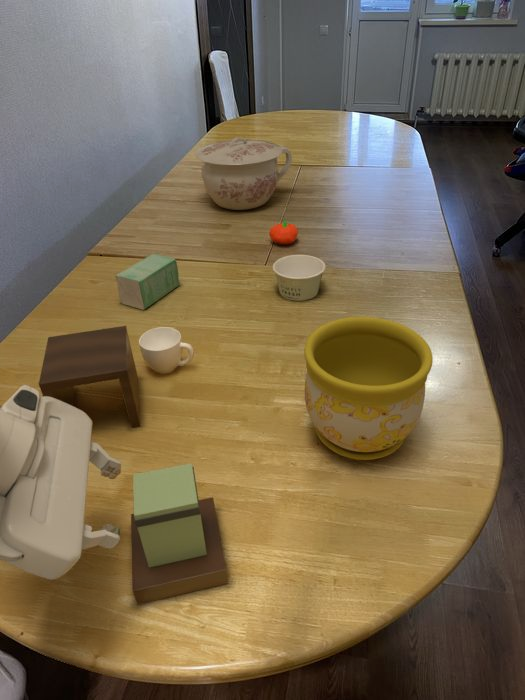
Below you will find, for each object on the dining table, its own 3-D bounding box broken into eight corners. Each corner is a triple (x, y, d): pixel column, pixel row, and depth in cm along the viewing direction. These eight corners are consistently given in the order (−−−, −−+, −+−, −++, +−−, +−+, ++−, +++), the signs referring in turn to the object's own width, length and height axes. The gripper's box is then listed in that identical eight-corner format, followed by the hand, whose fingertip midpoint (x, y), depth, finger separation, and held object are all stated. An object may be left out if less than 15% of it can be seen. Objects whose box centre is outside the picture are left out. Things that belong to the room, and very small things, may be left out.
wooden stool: (140, 426, 86) (126, 369, 79) (59, 441, 84) (38, 384, 77) (138, 379, 97) (126, 325, 90) (66, 391, 94) (48, 337, 87)
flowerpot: (438, 430, 83) (457, 347, 73) (371, 495, 73) (383, 409, 63) (349, 381, 94) (355, 303, 84) (280, 433, 84) (278, 351, 74)
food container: (267, 300, 119) (266, 274, 115) (281, 276, 128) (280, 252, 124) (318, 306, 115) (319, 280, 112) (329, 281, 125) (330, 256, 121)
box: (181, 284, 126) (176, 256, 122) (145, 311, 117) (139, 281, 112) (157, 279, 129) (152, 251, 125) (120, 304, 120) (113, 275, 116)
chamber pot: (186, 214, 164) (178, 147, 152) (219, 187, 185) (214, 125, 173) (270, 222, 157) (268, 151, 145) (294, 192, 178) (294, 128, 166)
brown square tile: (228, 583, 63) (226, 569, 61) (137, 605, 61) (132, 591, 60) (215, 510, 72) (213, 496, 70) (134, 527, 70) (130, 513, 68)
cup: (153, 353, 103) (147, 325, 99) (201, 357, 101) (197, 329, 97) (138, 378, 97) (132, 348, 93) (189, 382, 95) (185, 352, 91)
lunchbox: (207, 555, 63) (198, 503, 57) (148, 568, 62) (132, 516, 56) (201, 514, 68) (192, 461, 62) (146, 525, 67) (131, 473, 61)
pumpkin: (269, 237, 147) (269, 216, 144) (297, 237, 147) (297, 215, 143) (269, 248, 142) (268, 226, 138) (298, 247, 141) (298, 225, 137)
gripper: (-12, 527, 41) (134, 571, 48) (28, 374, 58) (133, 423, 65) (-50, 571, 43) (96, 607, 50) (-1, 411, 60) (104, 455, 67)
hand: (117, 502), depth 58 cm, fingers open, 8 cm apart
